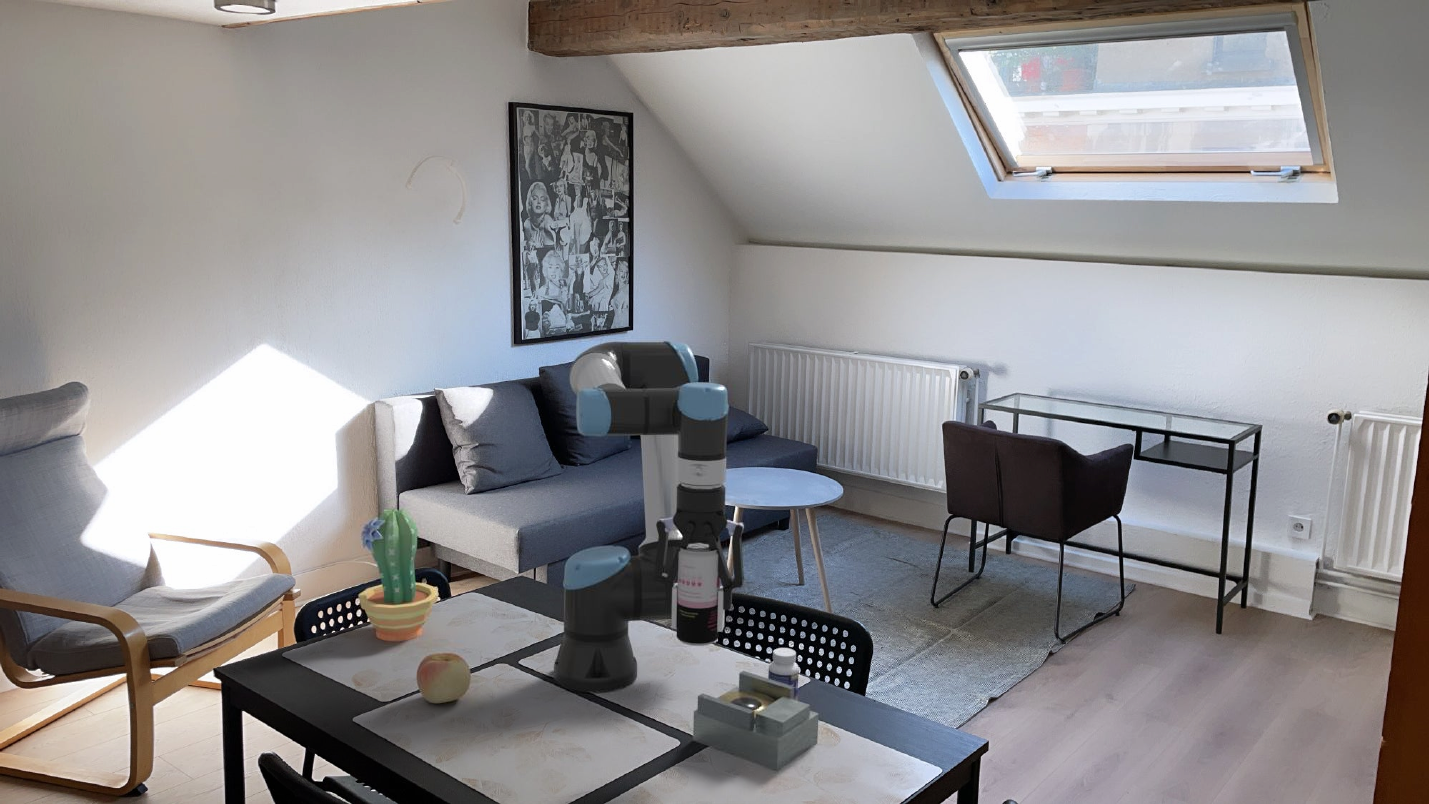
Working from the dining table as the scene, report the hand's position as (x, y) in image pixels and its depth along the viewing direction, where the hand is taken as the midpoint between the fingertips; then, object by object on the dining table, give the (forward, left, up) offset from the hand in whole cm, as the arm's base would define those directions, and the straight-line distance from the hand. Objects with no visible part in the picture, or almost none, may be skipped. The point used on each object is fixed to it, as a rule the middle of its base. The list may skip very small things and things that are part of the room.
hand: (697, 626), depth 173 cm
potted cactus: (-74, 0, -20) cm, 76 cm away
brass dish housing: (+7, +6, -19) cm, 22 cm away
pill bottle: (+2, +22, -20) cm, 30 cm away
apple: (-43, -15, -20) cm, 49 cm away
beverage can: (0, 0, -2) cm, 2 cm away
